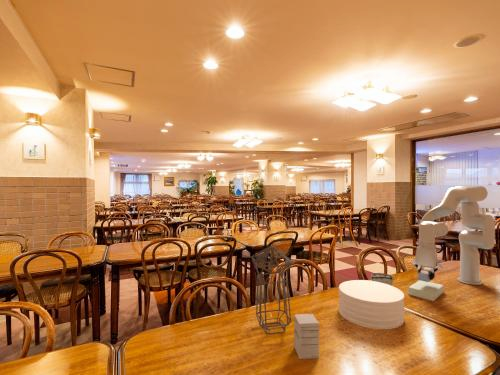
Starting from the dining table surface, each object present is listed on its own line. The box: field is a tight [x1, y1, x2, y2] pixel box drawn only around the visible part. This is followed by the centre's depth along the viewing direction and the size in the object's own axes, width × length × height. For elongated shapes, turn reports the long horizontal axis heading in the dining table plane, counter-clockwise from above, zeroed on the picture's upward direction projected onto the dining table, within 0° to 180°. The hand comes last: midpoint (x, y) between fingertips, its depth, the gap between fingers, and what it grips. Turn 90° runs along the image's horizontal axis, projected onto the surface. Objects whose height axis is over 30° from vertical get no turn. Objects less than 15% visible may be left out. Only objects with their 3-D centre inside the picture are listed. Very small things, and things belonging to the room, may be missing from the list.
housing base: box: [417, 271, 432, 282], centre depth 160 cm, size 5×10×4 cm, turn 133°
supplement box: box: [293, 313, 320, 360], centre depth 104 cm, size 7×7×13 cm
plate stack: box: [338, 279, 405, 330], centre depth 135 cm, size 28×28×12 cm
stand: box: [408, 280, 444, 302], centre depth 160 cm, size 18×12×4 cm, turn 132°
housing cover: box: [421, 266, 431, 274], centre depth 160 cm, size 4×9×2 cm, turn 133°
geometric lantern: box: [250, 245, 295, 335], centre depth 121 cm, size 16×16×35 cm
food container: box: [370, 272, 395, 286], centre depth 162 cm, size 12×6×10 cm, turn 84°
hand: (426, 277), depth 160 cm, fingers closed on housing base, 5 cm apart
